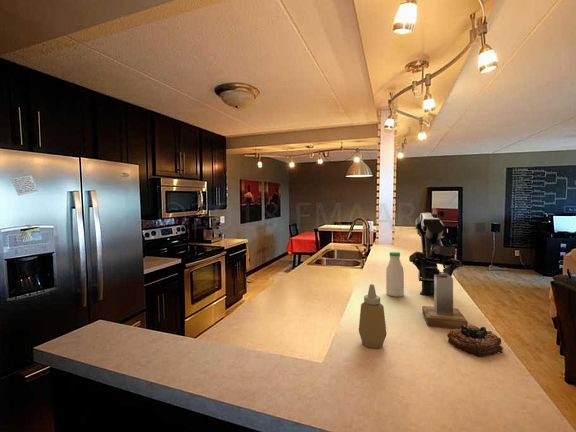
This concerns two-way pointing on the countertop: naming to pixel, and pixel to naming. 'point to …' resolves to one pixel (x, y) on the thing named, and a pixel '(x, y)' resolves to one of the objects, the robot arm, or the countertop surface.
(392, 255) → the milk bottle
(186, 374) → the countertop surface
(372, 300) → the squeeze bottle
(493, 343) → the pastry
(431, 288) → the robot arm
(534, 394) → the countertop surface
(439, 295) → the housing
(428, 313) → the stand
